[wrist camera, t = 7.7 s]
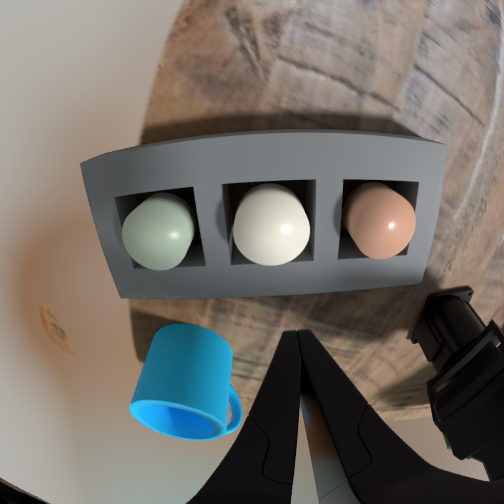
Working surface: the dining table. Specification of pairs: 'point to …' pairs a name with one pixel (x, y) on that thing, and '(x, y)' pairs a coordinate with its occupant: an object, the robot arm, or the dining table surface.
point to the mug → (187, 385)
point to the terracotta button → (378, 220)
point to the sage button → (159, 231)
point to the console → (266, 169)
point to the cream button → (270, 225)
